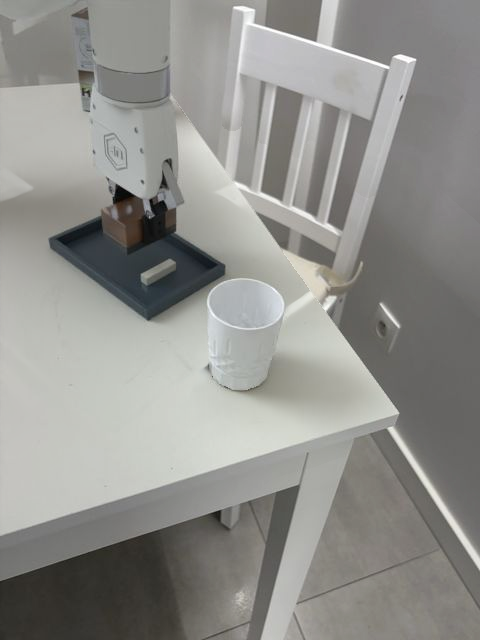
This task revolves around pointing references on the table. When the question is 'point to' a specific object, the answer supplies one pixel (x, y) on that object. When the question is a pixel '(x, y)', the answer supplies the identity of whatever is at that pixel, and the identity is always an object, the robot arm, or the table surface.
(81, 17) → the coffee box
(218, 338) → the white cup
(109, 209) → the eraser
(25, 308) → the table surface
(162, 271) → the chalk
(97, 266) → the tray
